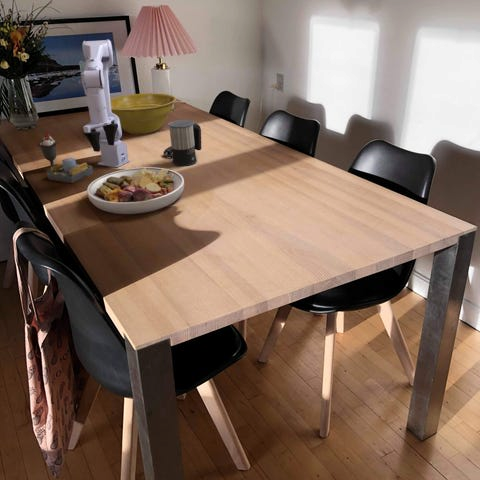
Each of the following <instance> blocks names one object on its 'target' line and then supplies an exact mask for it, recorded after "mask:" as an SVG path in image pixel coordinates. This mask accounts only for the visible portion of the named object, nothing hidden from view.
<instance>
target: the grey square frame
mask: <svg viewBox="0 0 480 480" xmlns="http://www.w3.org/2000/svg"><path fill="white" fill-rule="evenodd" d="M76 166H77V167H74V168H72V169H70V170H69V174H68V173H65V172H64V167H63V163H62V161H61V162H59V163H57V164H54V166H52V167H51V166H50V167H49V168H51V171H49V172H47V171H46V175H47V179H48V180H50V181H57V182H63V183H69V184H73V183H74V184H75V182H77V181H80V180H81V179H83V178H86V177H87V176H89V175H91V174H93V173H94V170H93V166H92V165H90V164H88V163H87V162H83V163H81V164H79V163H76Z"/></svg>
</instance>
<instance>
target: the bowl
mask: <svg viewBox="0 0 480 480" xmlns="http://www.w3.org/2000/svg"><path fill="white" fill-rule="evenodd" d="M184 189H185V178H184V177H183V175H182V174H180V173H179V172H178V171H175V170H171V169H168V168H162V167H151V166H149V167H148V166H147V167H144V166H143V167H133V168H132V167H131V168H127V169H126V168H125V169H121V170H117V171H113V172H110V173H105V174H104V175H101V176H100V177H98V178H95V179H94V180H92V181H91V182H90V183H89V185H88V186H87V189H86V193H87V197H88V200H89V201H90V203H91V204H93V206H94V207H96V208H98V209H99V210H101V211H103V212H107V213H110V214H117V215H137V214H144V213H149V212H154V211H157V210H160V209H164V208H166V207H168V206H170V205H171V204H173V203H174V202H175V201H177V200H178V199H179V198H180V196H181V195H182V194H183V193H184V192H183V191H184Z"/></svg>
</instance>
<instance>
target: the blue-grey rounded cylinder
mask: <svg viewBox="0 0 480 480" xmlns="http://www.w3.org/2000/svg"><path fill="white" fill-rule="evenodd" d="M61 162H62V163H63V167H64V172H65V173H68V174H69V170H70V169H72V168H74V167H77V166H76V164H77V162H76V158H74V157H66V158H63V159H62V161H61Z"/></svg>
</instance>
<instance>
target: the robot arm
mask: <svg viewBox="0 0 480 480" xmlns="http://www.w3.org/2000/svg"><path fill="white" fill-rule="evenodd" d="M81 47H82V52H83V57H84V59H85V67H84V71H83V72H81V75H80V77H81V78H80V79H81V83H82V87H83V90H84V95H85V96H86V101H87V107H88V113H89V117H90V121H89V123H87V124H86V125H84V126H82V128H83V135H84V136H85V137H86V139H87V140H88V142H89V144H90V146H91V148H92V149H93V152H96V153H99V152H100V156H101V161H100V162H98V163H97V165H99V166H105V167H112V168H120V167H122V166H123V165H125V164H127V163H128V162H130V161H131V159H129V153H128V147H127V144H126V142H125V141H122V140H121V138H122V136H123V134H122V133H123V131H122V127H121V124H120V119H119V118H118V116H117V115H115V114H113V113H112V112H111V101H110V99H111V93H110V91H111V90H110V81H109V72H110V71H109V70H110V68H112V67H113V66H114V56H113V55H114V54H113V45H112V41H111V40H110V39H105V40H102V39H101V40H87V41H86V40H83V42H82V45H81Z"/></svg>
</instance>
